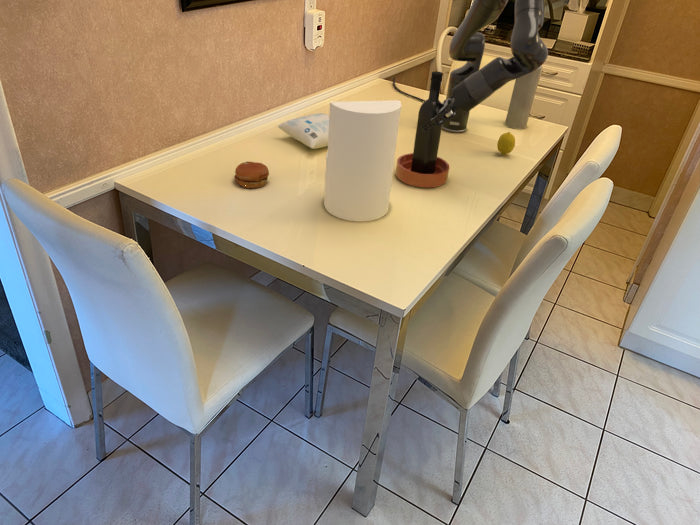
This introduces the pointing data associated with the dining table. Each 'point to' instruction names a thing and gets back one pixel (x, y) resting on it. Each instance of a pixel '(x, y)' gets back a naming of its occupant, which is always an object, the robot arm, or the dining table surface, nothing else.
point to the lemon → (506, 143)
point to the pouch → (308, 129)
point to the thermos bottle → (522, 100)
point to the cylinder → (360, 158)
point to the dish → (418, 178)
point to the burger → (251, 174)
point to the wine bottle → (428, 142)
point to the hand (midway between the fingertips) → (423, 126)
